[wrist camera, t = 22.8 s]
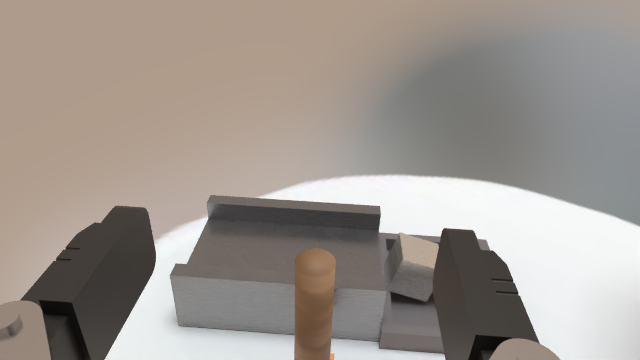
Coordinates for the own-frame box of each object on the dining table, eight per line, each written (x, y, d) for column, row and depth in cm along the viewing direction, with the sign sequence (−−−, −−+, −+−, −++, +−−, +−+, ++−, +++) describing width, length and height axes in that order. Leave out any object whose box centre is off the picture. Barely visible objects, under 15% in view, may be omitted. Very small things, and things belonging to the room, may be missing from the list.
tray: (482, 254, 52) (486, 239, 51) (519, 359, 40) (525, 343, 39) (374, 246, 52) (376, 232, 51) (379, 348, 40) (381, 332, 39)
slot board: (374, 250, 52) (379, 206, 49) (379, 341, 41) (386, 291, 38) (215, 239, 52) (210, 195, 49) (178, 325, 42) (169, 275, 39)
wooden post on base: (332, 378, 38) (342, 229, 30) (327, 460, 32) (338, 304, 24) (295, 375, 38) (296, 226, 30) (284, 456, 32) (281, 299, 25)
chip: (421, 272, 47) (437, 243, 45) (426, 301, 44) (444, 271, 42) (384, 262, 47) (399, 232, 45) (386, 290, 43) (403, 259, 41)
